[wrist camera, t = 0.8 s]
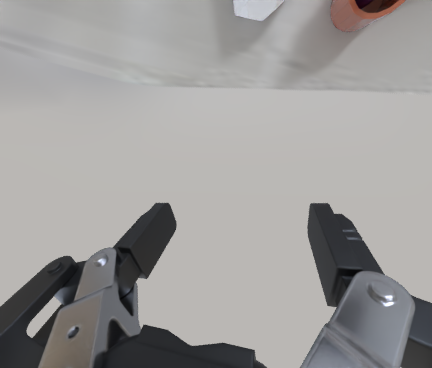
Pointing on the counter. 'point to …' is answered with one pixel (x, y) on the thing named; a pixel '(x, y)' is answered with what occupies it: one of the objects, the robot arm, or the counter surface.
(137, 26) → the counter surface
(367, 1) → the marker
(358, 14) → the pen cup
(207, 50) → the counter surface
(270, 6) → the crystal
